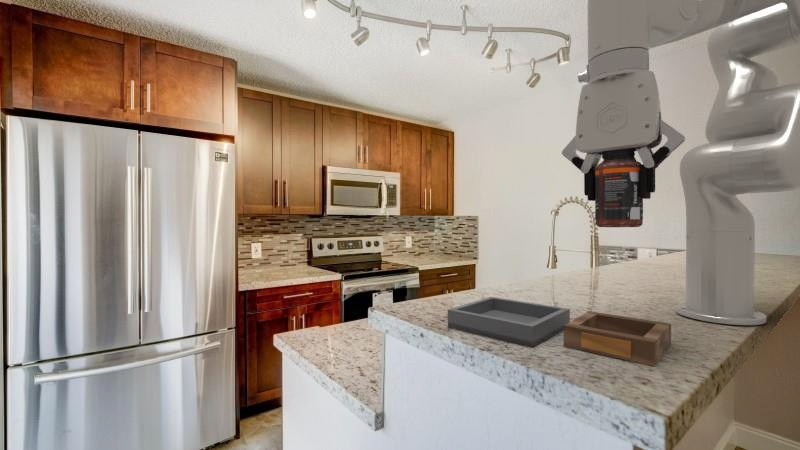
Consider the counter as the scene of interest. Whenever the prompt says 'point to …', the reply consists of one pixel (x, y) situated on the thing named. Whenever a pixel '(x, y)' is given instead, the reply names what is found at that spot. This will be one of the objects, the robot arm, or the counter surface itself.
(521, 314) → the tray
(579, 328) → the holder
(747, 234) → the robot arm
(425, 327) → the counter surface
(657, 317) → the counter surface
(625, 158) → the supplement bottle
